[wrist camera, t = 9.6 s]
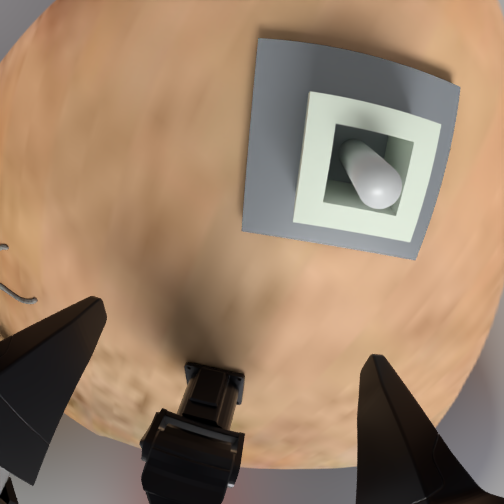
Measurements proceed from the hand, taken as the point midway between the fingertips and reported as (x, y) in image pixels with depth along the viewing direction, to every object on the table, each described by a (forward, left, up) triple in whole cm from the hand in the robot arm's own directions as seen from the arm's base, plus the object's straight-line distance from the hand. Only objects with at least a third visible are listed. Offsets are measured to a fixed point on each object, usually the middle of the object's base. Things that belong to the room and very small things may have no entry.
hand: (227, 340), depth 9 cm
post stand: (+4, -4, -12) cm, 13 cm away
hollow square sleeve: (+4, -4, -11) cm, 12 cm away
